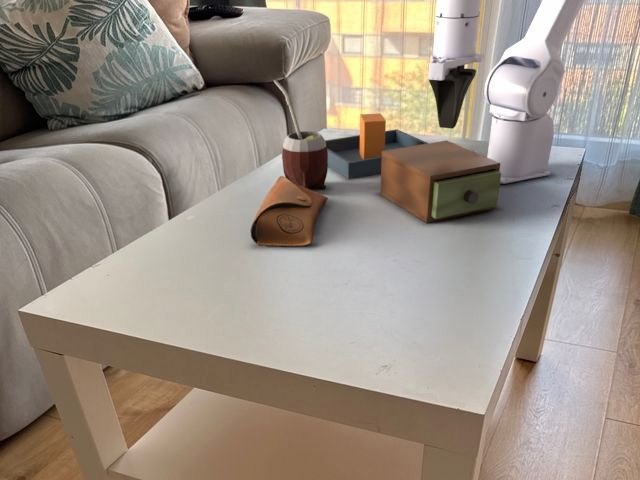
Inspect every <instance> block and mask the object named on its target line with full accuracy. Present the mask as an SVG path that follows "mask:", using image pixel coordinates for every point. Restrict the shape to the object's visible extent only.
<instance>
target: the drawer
mask: <svg viewBox="0 0 640 480" xmlns="http://www.w3.org/2000/svg"><path fill="white" fill-rule="evenodd" d="M500 179H501V172H499V171H497V170H495V171H490V172H487V171H482V172H476V173H471V174H466V175H460V176H455V177H450V178H444V179H439V180H434V187H433V199H432V211H431V217H433V218H435V219H438V218H443V217H448V216H452V215H457V214H462V213H467V212H472V211H476V210H481V209H486V208H491V207H494V208H495V207H497V206H498V198H499V194H500V193H499V191H500V187H501V186H500V185H501V183H500Z"/></svg>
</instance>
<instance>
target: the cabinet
mask: <svg viewBox="0 0 640 480" xmlns="http://www.w3.org/2000/svg"><path fill="white" fill-rule="evenodd" d="M427 143H428V144H422V145H416V146H410V147H404V148H398V149H392V150H386V151H382V161H381V173H380V191H379V192H380V196H382V197H384V198H385V199H387V200H388V201H390V202H391V203H393V204H395V205H396V206H398V207H400V208H402V209H403V210H405V211H406V212H408V213H409V214H411V215H412V216H415V217H416V218H418V219H419V220H420V221H423V222H424V223H425V224H429V223H433V222H439V221H443V220H448V219H453V218H457V217H462V216H467V215H473V214H477V213H481V212H487V211H491V210H494V209H495V207H491V208H486V209H481V210H476V211H472V212H467V213H462V214H457V215H452V216H448V217H443V218H438V219H435V218H433V217H431V211H432V199H433V187H434V180H439V179H444V178H450V177H455V176H460V175H466V174H471V173H476V172H482V171H487V172H490V171H495V170H497V171H500V163H499V162H497V161H494V160H492V159H489V158H487V156H485V155H483V154H480V153H477V152H475V151H474V150H471V149H468V148H466V147H463V146H461V145H459V144H456V143H454V142H451V141H449V140H441V141H434V142H427Z"/></svg>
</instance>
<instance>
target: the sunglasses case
mask: <svg viewBox="0 0 640 480" xmlns="http://www.w3.org/2000/svg"><path fill="white" fill-rule="evenodd" d="M328 198H329V197H328V196H326V195H325V194H322V193H319V192H317V191H315V190H310V189H307V188H304V187H302V186H300V185H297V184H295V183H292V182H291V181H290V180H288V179H287V178H286V177H285V175H280V176H278V178H277V179H276V181H275V183H274V185H273V186H272V187H271V189H270V190H269V191H268V193H267V195H266V196H265V198H264V200H263V201H262V204H261V205H260V207H259V209H258V210H257V213H256V215H255V217H254V219H253V222H252V224H251V226H250V237H251V239H252V240H253V242H254V243H255V244H256V245H257V246H262V247H264V246H265V247H274V248H291V247H294V248H295V247H304V246H305V247H306V246H309V245H311V244H313V239H314V238H313V237H314V230H315V226H316V223H317V220H318V218H319V216H320V214H321V212H322V209H323V208H324V206H325V205H326V203H327V202H328V200H329V199H328Z"/></svg>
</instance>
